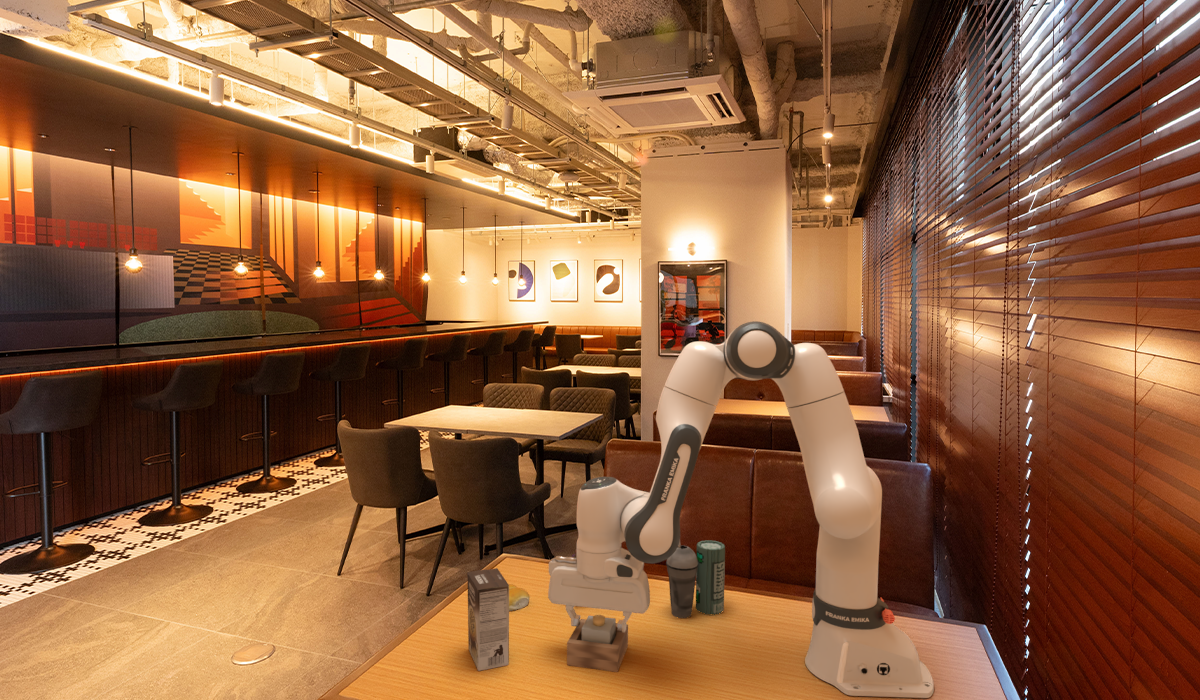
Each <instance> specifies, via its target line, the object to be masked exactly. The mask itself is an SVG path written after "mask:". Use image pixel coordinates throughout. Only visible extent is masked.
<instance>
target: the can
mask: <svg viewBox="0 0 1200 700" xmlns="http://www.w3.org/2000/svg"><path fill="white" fill-rule="evenodd" d="M696 557H697V561H698V569H697V574H696V579H695V609H697V610H696V611H697V612H698V611H700V612H702V613H701V614H703V613H705V614H706V615H708V614H714V615H713V616H716V615H720V614H722V613H723V612H724V609H725V572H726V571H725V569H726V568H725V566H726V563H725V562H726V545H725V544H724V543H723V542H720V541H718V540H717V541H716V540H711V539H710V540H701V541H699V542H697V543H696ZM722 611H723V612H722ZM700 612H699V613H700ZM721 612H722V613H721ZM719 613H720V614H719ZM705 614H704V615H705ZM715 614H716V615H715Z"/></svg>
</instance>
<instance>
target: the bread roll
mask: <svg viewBox="0 0 1200 700" xmlns="http://www.w3.org/2000/svg"><path fill="white" fill-rule="evenodd" d="M508 584H509V583H508ZM530 598H531V597H530V594H529V593H528V591H527V590H525V589H524V588H522V587H519V586H516V585H515V584H512V583H510V584H509V612H512V611H513V610H514V611H517V609H518V610H521V609H524V608H525V607H526V606H528V604H529V602H530Z"/></svg>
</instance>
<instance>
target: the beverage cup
mask: <svg viewBox="0 0 1200 700" xmlns="http://www.w3.org/2000/svg"><path fill="white" fill-rule="evenodd" d="M665 564H666V568H667V574H668V583H669V584H668V585H669V597H670V599H669V600H670V607H671V615H672V616H673V617H675V618H677V617H678V619H687V617H688V618H690V617H692V615H691V614H693V607H694V599H695V598H694V597H695V590H696V574H697V569H698V561H697V553H695V551H694V550H693V549H692V548H691V547H689V546H687V545H681V540H680V541H679V545H678V547H677V549H676V551H675V552H674V553H673V554H672V555H671V556H670V557H669V558H667V559H666V562H665ZM689 616H690V617H689Z"/></svg>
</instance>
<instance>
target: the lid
mask: <svg viewBox="0 0 1200 700" xmlns="http://www.w3.org/2000/svg"><path fill="white" fill-rule="evenodd" d="M616 623H617V622H616V618H613V617H606V616H604V615H603V614H595V615H588V616H587V618H586V621H585V623H584V625H583V627H582V641H588V642H596V643H604V644H611V645H612V644H613V641H614V639H615V637H616Z"/></svg>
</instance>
